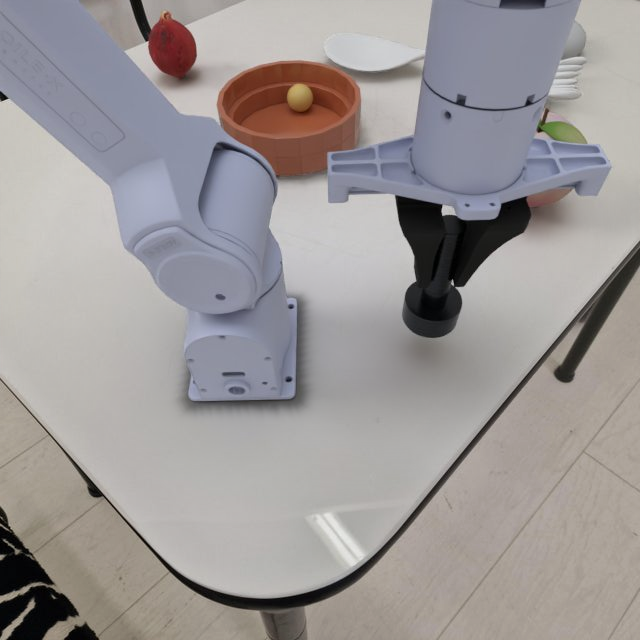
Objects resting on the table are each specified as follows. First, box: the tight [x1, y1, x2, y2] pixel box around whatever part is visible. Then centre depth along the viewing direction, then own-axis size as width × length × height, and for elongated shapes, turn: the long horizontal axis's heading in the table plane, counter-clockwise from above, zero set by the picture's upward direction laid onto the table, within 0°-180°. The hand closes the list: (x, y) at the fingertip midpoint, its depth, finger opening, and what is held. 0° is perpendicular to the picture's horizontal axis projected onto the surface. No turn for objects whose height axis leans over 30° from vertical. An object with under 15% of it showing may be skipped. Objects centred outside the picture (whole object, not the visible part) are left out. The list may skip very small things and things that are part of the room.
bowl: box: [216, 59, 362, 177], centre depth 56 cm, size 15×15×5 cm
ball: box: [287, 84, 313, 112], centre depth 60 cm, size 3×3×3 cm
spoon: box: [322, 32, 588, 101], centre depth 64 cm, size 9×32×4 cm, turn 69°
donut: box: [560, 19, 587, 61], centre depth 67 cm, size 10×4×10 cm
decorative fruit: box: [526, 107, 589, 208], centre depth 47 cm, size 9×8×10 cm
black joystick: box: [401, 214, 467, 339], centre depth 34 cm, size 4×4×9 cm
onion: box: [147, 9, 198, 80], centre depth 64 cm, size 6×6×8 cm
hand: (438, 276), depth 34 cm, fingers closed on black joystick, 2 cm apart
